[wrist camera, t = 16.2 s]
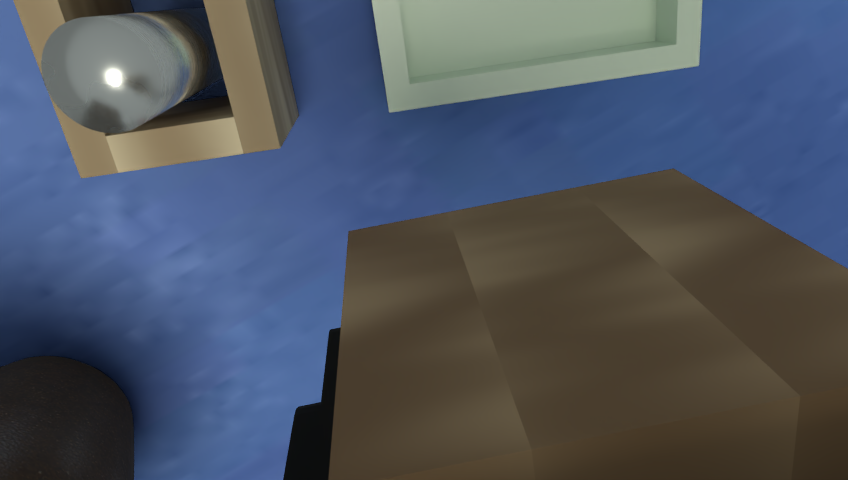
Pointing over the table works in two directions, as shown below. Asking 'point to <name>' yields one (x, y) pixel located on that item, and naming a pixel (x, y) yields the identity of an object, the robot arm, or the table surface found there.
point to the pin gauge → (128, 66)
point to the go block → (195, 120)
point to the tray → (526, 45)
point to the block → (591, 343)
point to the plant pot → (63, 422)
